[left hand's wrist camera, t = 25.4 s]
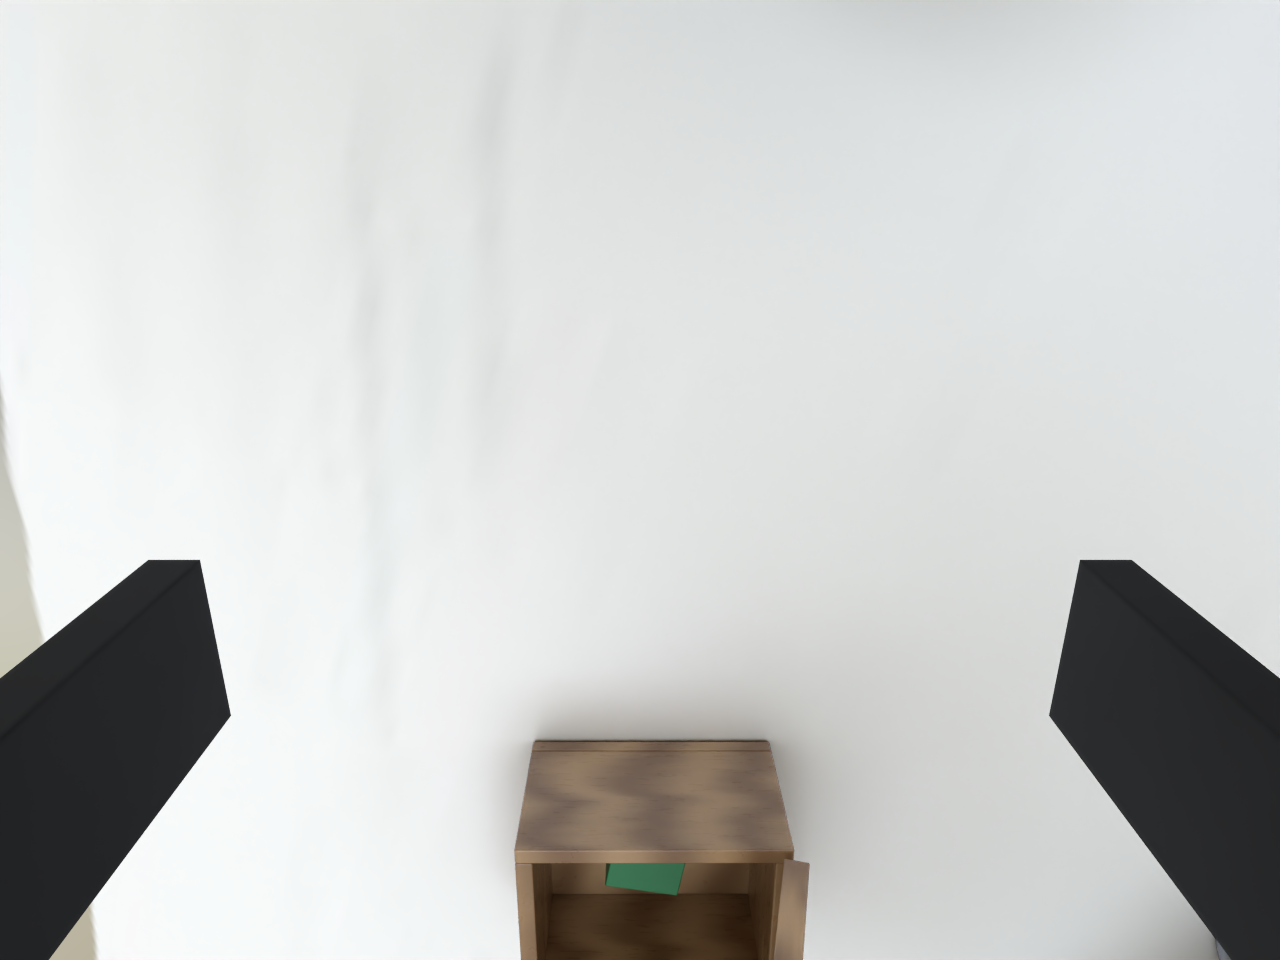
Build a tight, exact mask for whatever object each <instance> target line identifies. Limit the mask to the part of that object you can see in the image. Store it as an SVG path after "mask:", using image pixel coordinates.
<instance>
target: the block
mask: <svg viewBox="0 0 1280 960" xmlns="http://www.w3.org/2000/svg"><path fill="white" fill-rule="evenodd" d="M685 864H686V863H606V877H605V885H606V886H611V887H618V888H626V889H633V890H640V891H648V892H655V893H662V894H670V895H677V894H678V890H679V887H680V883H681V879H682V875H683V871H684V867H685Z"/></svg>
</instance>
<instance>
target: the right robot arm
mask: <svg viewBox="0 0 1280 960" xmlns="http://www.w3.org/2000/svg"><path fill="white" fill-rule="evenodd" d="M1216 946H1217V951H1218V956H1219V958H1220V960H1231V959H1230V957H1229V956H1228V955H1227V953H1226V952H1225V951H1224V949H1223V948H1222V947H1221V945H1220V944H1219V943H1218V941H1217V940H1216Z"/></svg>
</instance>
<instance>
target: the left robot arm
mask: <svg viewBox="0 0 1280 960" xmlns="http://www.w3.org/2000/svg"><path fill="white" fill-rule="evenodd" d="M230 716H231V714H230V709H229V704H228V699H227V694H226V689H225V684H224V679H223V674H222V669H221V664H220V659H219V654H218V649H217V644H216V639H215V634H214V629H213V624H212V619H211V614H210V609H209V604H208V599H207V594H206V589H205V583H204V578H203V573H202V568H201V563H200V560H148V561H147V562H145V563H144V564H143V565H142V566H140V567H139V568H138V569H137V570H135V571H134V572H133V573H132V574H130V575H129V576H128V577H127V578H125V579H124V580H123V581H122V582H120V583H119V584H118V585H117V586H115V587H114V588H113V589H112V590H110V591H109V592H108V593H107V594H105V595H104V596H103V597H102V598H100V599H99V600H98V601H97V602H95V603H94V604H93V605H92V606H90V607H89V608H88V609H87V610H85V611H84V612H83V613H82V614H80V615H79V616H78V617H77V618H75V619H74V620H73V621H72V622H70V623H69V624H68V625H67V626H65V627H64V628H63V629H62V630H60V631H59V632H58V633H57V634H55V635H54V636H53V637H52V638H50V639H49V640H48V641H47V642H45V643H44V644H43V645H42V646H40V647H39V648H38V649H37V650H35V651H34V652H33V653H32V654H30V655H29V656H28V657H27V658H25V659H24V660H23V661H22V662H20V663H19V664H18V665H16V666H15V667H14V668H13V669H11V670H10V671H9V672H8V673H6V674H5V675H4V676H3V677H1V678H0V960H49V959H50V957H51V956H52V955H53V953H54V952H55V951H56V949H57V948H58V947H59V945H60V944H61V943H62V941H63V940H64V939H65V937H66V936H67V935H68V933H69V932H70V930H71V929H72V928H73V926H74V925H75V924H76V922H77V921H78V920H79V918H80V917H81V916H82V914H83V913H84V912H85V910H86V909H87V908H88V906H89V905H90V904H91V902H92V901H93V900H94V898H95V897H96V896H97V894H98V893H99V892H100V890H101V889H102V888H103V886H104V885H105V884H106V882H107V881H108V880H109V878H110V877H111V876H112V874H113V873H114V872H115V870H116V869H117V868H118V866H119V865H120V864H121V862H122V861H123V859H124V858H125V857H126V855H127V854H128V853H129V851H130V850H131V849H132V847H133V846H134V845H135V843H136V842H137V841H138V839H139V838H140V837H141V835H142V834H143V833H144V831H145V830H146V829H147V827H148V826H149V825H150V823H151V822H152V821H153V819H154V818H155V817H156V815H157V814H158V813H159V811H160V810H161V809H162V807H163V806H164V805H165V803H166V802H167V801H168V799H169V798H170V796H171V795H172V794H173V792H174V791H175V790H176V788H177V787H178V786H179V784H180V783H181V782H182V780H183V779H184V778H185V776H186V775H187V774H188V772H189V771H190V770H191V768H192V767H193V766H194V764H195V763H196V762H197V760H198V759H199V758H200V756H201V755H202V754H203V752H204V751H205V750H206V748H207V747H208V746H209V744H210V743H211V742H212V740H213V739H214V738H215V736H216V735H217V733H218V732H219V731H220V729H221V728H222V727H223V725H224V724H225V723H226V721H227V720H228V719H229V717H230ZM1049 716H1050V717H1051V719H1052V720H1053V721H1054V723H1055V724H1056V725H1057V727H1058V728H1059V729H1060V731H1061V732H1062V733H1063V735H1064V736H1065V738H1066V739H1067V740H1068V742H1069V743H1070V744H1071V746H1072V747H1073V748H1074V750H1075V751H1076V752H1077V754H1078V755H1079V756H1080V758H1081V759H1082V760H1083V762H1084V763H1085V764H1086V766H1087V767H1088V768H1089V770H1090V771H1091V772H1092V774H1093V775H1094V776H1095V778H1096V779H1097V780H1098V782H1099V783H1100V784H1101V786H1102V787H1103V788H1104V790H1105V791H1106V792H1107V794H1108V795H1109V796H1110V798H1111V799H1112V801H1113V802H1114V803H1115V805H1116V806H1117V807H1118V809H1119V810H1120V811H1121V813H1122V814H1123V815H1124V817H1125V818H1126V819H1127V821H1128V822H1129V823H1130V825H1131V826H1132V827H1133V829H1134V830H1135V831H1136V833H1137V834H1138V835H1139V837H1140V838H1141V839H1142V841H1143V842H1144V843H1145V845H1146V846H1147V847H1148V849H1149V850H1150V851H1151V853H1152V854H1153V855H1154V857H1155V858H1156V859H1157V861H1158V862H1159V864H1160V865H1161V866H1162V868H1163V869H1164V870H1165V872H1166V873H1167V874H1168V876H1169V877H1170V878H1171V880H1172V881H1173V882H1174V884H1175V885H1176V886H1177V888H1178V889H1179V890H1180V892H1181V893H1182V894H1183V896H1184V897H1185V898H1186V900H1187V901H1188V902H1189V904H1190V905H1191V906H1192V908H1193V909H1194V910H1195V912H1196V913H1197V914H1198V916H1199V917H1200V918H1201V920H1202V921H1203V922H1204V924H1205V925H1206V927H1207V928H1208V929H1209V931H1210V932H1211V933H1212V935H1213V936H1214V937H1215V939H1216V940H1217V941H1218V943H1219V944H1220V945H1221V947H1222V948H1223V949H1224V951H1225V952H1226V953H1227V955H1228V956H1229V957H1230V959H1231V960H1280V678H1279V677H1277V676H1276V675H1275V674H1274V673H1272V672H1271V671H1270V670H1269V669H1267V668H1266V667H1265V666H1264V665H1262V664H1261V663H1260V662H1258V661H1257V660H1256V659H1255V658H1253V657H1252V656H1251V655H1250V654H1248V653H1247V652H1246V651H1245V650H1243V649H1242V648H1241V647H1240V646H1238V645H1237V644H1236V643H1235V642H1233V641H1232V640H1231V639H1230V638H1228V637H1227V636H1226V635H1225V634H1223V633H1222V632H1221V631H1220V630H1218V629H1217V628H1216V627H1215V626H1213V625H1212V624H1211V623H1210V622H1208V621H1207V620H1206V619H1205V618H1203V617H1202V616H1201V615H1200V614H1198V613H1197V612H1196V611H1195V610H1193V609H1192V608H1191V607H1190V606H1188V605H1187V604H1186V603H1185V602H1183V601H1182V600H1181V599H1180V598H1178V597H1177V596H1176V595H1175V594H1173V593H1172V592H1171V591H1170V590H1168V589H1167V588H1166V587H1165V586H1163V585H1162V584H1161V583H1160V582H1158V581H1157V580H1156V579H1155V578H1153V577H1152V576H1151V575H1150V574H1148V573H1147V572H1146V571H1145V570H1143V569H1142V568H1141V567H1140V566H1138V565H1137V564H1136V563H1135V562H1133V561H1132V560H1080V563H1079V568H1078V573H1077V578H1076V583H1075V589H1074V594H1073V599H1072V604H1071V609H1070V614H1069V619H1068V624H1067V629H1066V634H1065V639H1064V644H1063V649H1062V654H1061V659H1060V664H1059V669H1058V674H1057V679H1056V684H1055V689H1054V694H1053V699H1052V704H1051V709H1050V714H1049Z"/></svg>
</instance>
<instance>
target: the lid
mask: <svg viewBox="0 0 1280 960" xmlns="http://www.w3.org/2000/svg"><path fill="white" fill-rule="evenodd" d="M809 866H810V865H809V863H805V862H800V861H794V860H789V859H784V866H783V875H782V885H781V894H780V903H779V913H778V922H777V931H776V941H775V950H774V959H773V960H803V951H804V937H805V923H806V908H807V894H808V880H809Z"/></svg>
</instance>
